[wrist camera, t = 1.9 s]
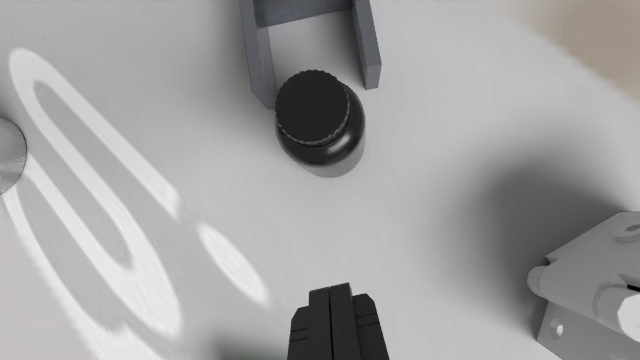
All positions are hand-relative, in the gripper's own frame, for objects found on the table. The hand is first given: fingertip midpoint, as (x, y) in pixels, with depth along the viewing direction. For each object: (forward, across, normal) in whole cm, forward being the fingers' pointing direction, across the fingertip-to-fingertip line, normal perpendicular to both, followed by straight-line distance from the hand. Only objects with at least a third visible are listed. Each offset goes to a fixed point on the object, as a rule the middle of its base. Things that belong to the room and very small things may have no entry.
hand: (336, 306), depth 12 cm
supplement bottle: (+22, +1, +2) cm, 22 cm away
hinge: (+14, +20, -13) cm, 28 cm away
